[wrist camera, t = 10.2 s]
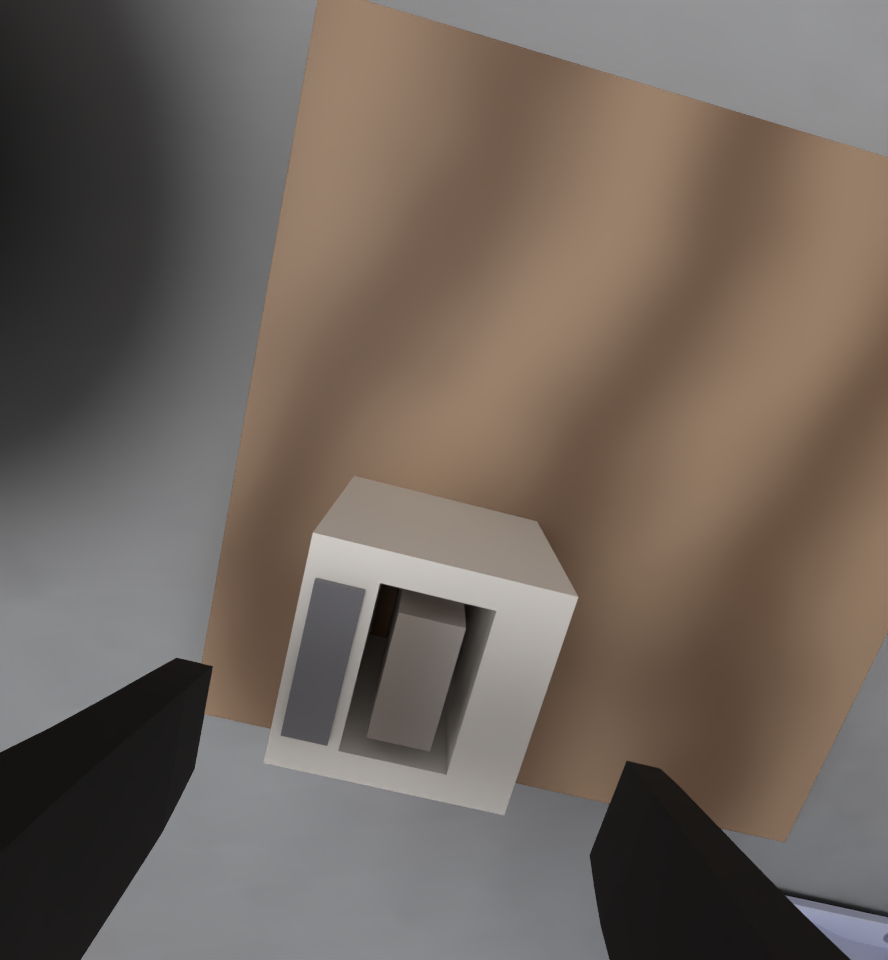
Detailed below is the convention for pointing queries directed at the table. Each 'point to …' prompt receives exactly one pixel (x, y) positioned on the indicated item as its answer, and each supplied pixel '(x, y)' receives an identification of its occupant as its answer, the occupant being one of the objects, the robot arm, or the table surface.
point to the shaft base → (578, 401)
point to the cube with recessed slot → (358, 654)
